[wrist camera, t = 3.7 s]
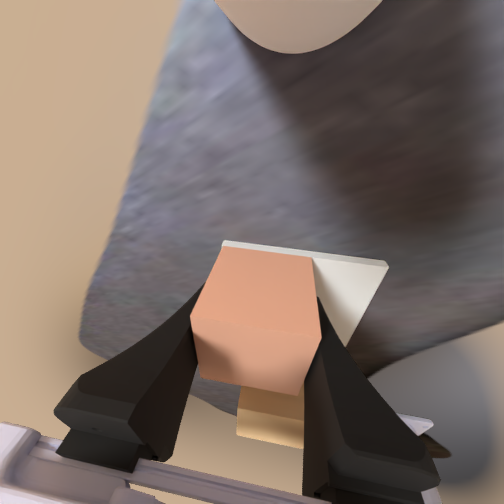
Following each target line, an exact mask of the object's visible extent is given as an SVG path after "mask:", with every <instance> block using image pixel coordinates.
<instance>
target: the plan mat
mask: <svg viewBox="0 0 504 504" xmlns="http://www.w3.org/2000/svg"><path fill="white" fill-rule="evenodd" d="M223 246H229V247H236V248H244V249H252V250H259V251H267V252H275V253H282V254H290V255H298V256H305V257H311V258H312V266H313V274H314V281H315V289H316V296H318V297H319V298H320V301H321V303H322V305H323V308H324V310H325V312H326V314H327V316H328V318H329V320H330V322H331V324H332V326H333V327H334V329H335V331H336V333H337V335H338V336H339V338H340V340H341V342H342V343H343V345H344V346H345V347H346V345H347V343H348V341H349V340H350V338H351V336H352V334H353V332H354V330H355V329H356V327H357V325H358V323H359V321H360V319H361V318H362V316H363V314H364V312H365V310H366V308H367V307H368V305H369V303H370V301H371V299H372V298H373V296H374V294H375V292H376V290H377V288H378V287H379V285H380V283H381V281H382V279H383V277H384V276H385V274H386V272H387V270H388V268H389V267H388V265H387V263H386V262H385V261H383V260H376V259H368V258H360V257H352V256H344V255H337V254H329V253H321V252H313V251H305V250H298V249H290V248H282V247H274V246H266V245H258V244H251V243H243V242H235V241H227V240H224V242H223V244H222V247H223Z"/></svg>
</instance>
